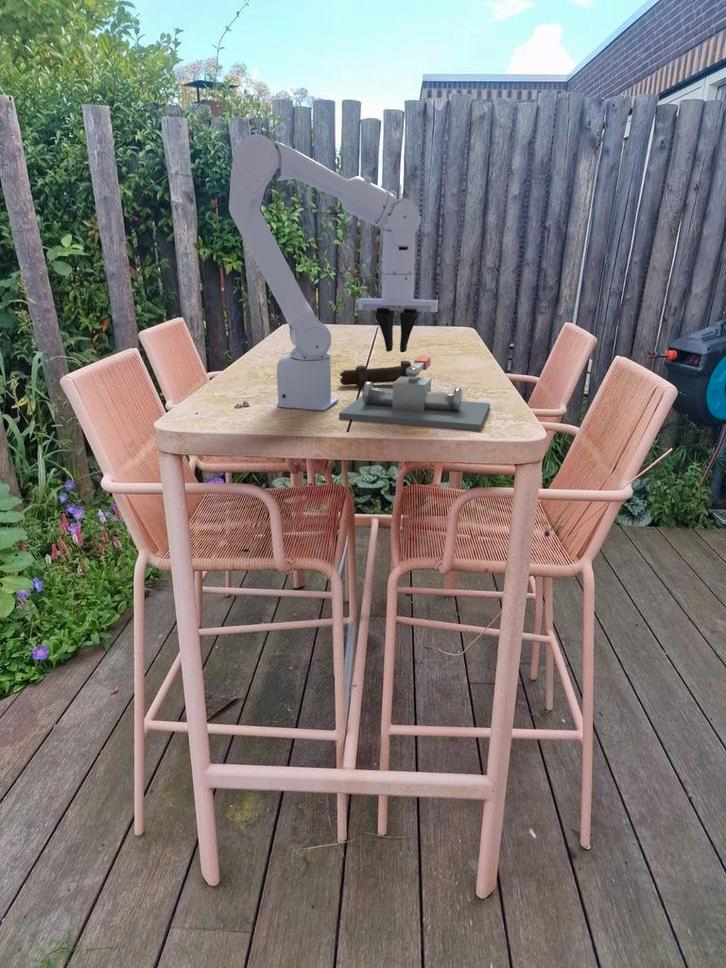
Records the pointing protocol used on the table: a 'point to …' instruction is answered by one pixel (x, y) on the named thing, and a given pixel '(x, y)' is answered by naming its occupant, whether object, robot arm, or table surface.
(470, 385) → the table surface
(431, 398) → the valve manifold
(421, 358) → the valve lever
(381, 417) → the mounting plate
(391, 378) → the bolt
